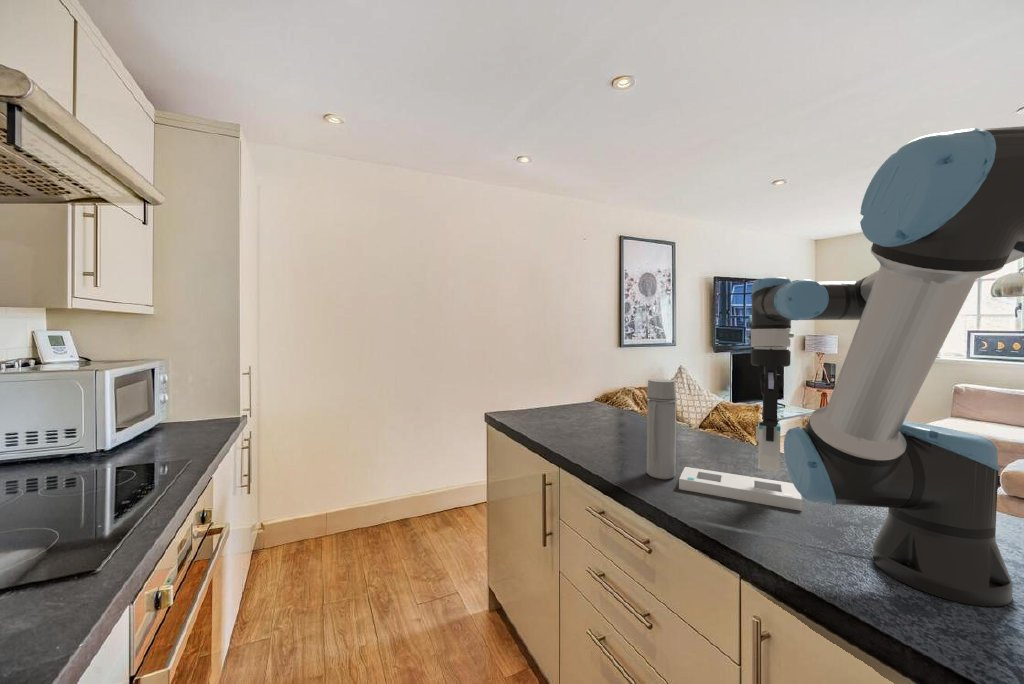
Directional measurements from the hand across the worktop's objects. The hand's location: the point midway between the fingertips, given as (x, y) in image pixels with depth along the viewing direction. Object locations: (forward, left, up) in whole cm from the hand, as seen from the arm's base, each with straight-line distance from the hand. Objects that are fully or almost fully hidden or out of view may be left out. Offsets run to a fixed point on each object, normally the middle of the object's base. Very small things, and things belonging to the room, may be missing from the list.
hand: (769, 452), depth 94 cm
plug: (0, 0, -4) cm, 4 cm away
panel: (0, +6, -11) cm, 12 cm away
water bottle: (+3, +24, -11) cm, 27 cm away
